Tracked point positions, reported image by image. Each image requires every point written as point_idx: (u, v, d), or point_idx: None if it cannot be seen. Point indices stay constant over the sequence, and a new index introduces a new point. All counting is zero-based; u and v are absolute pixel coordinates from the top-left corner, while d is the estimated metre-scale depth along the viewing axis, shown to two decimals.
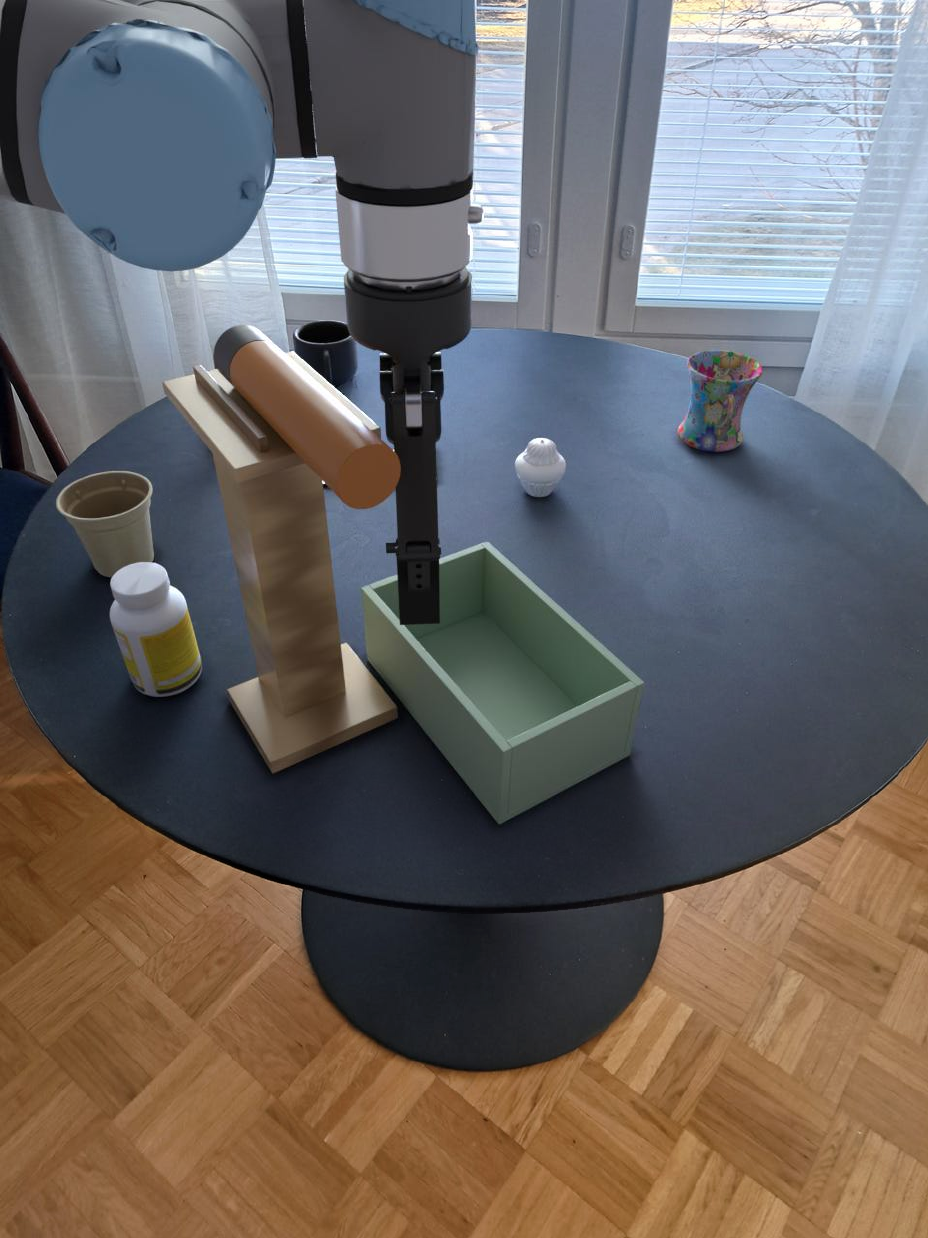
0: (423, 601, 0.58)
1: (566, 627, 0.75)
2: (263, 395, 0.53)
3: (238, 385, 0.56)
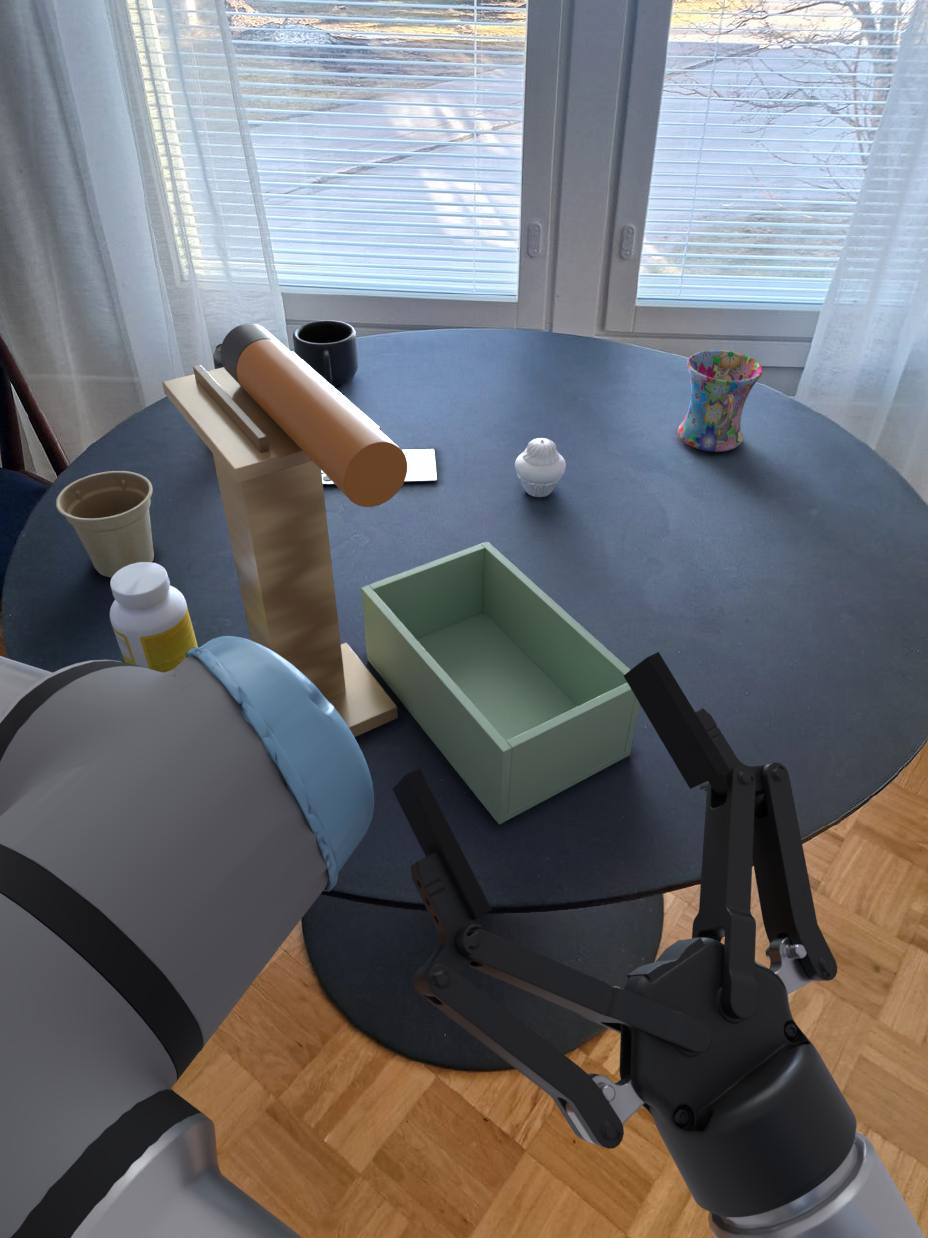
0: (417, 824, 0.38)
1: (566, 627, 0.75)
2: (273, 387, 0.53)
3: (244, 377, 0.56)
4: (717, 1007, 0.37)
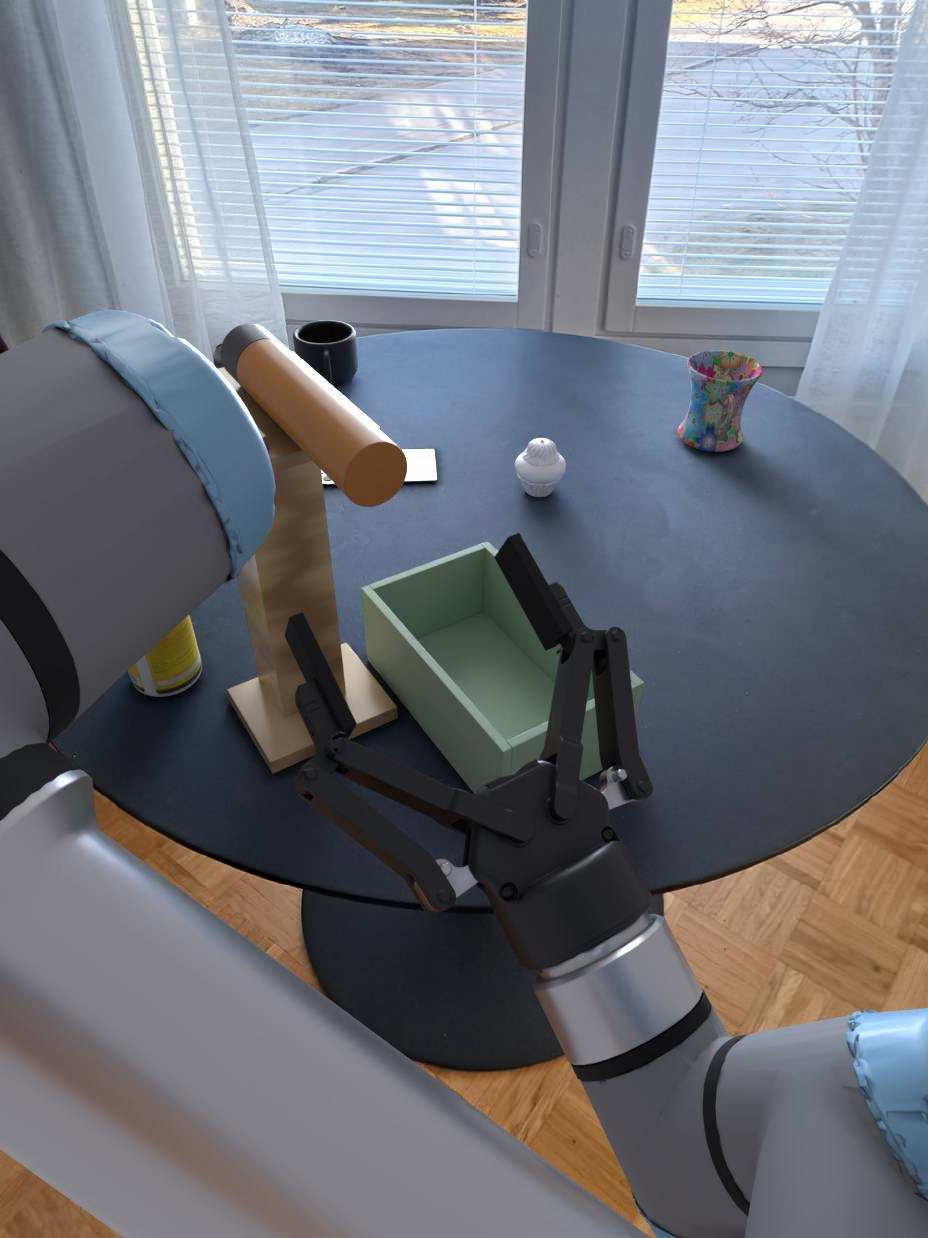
0: (301, 661, 0.45)
1: None
2: (273, 386, 0.53)
3: (245, 377, 0.56)
4: (545, 812, 0.45)
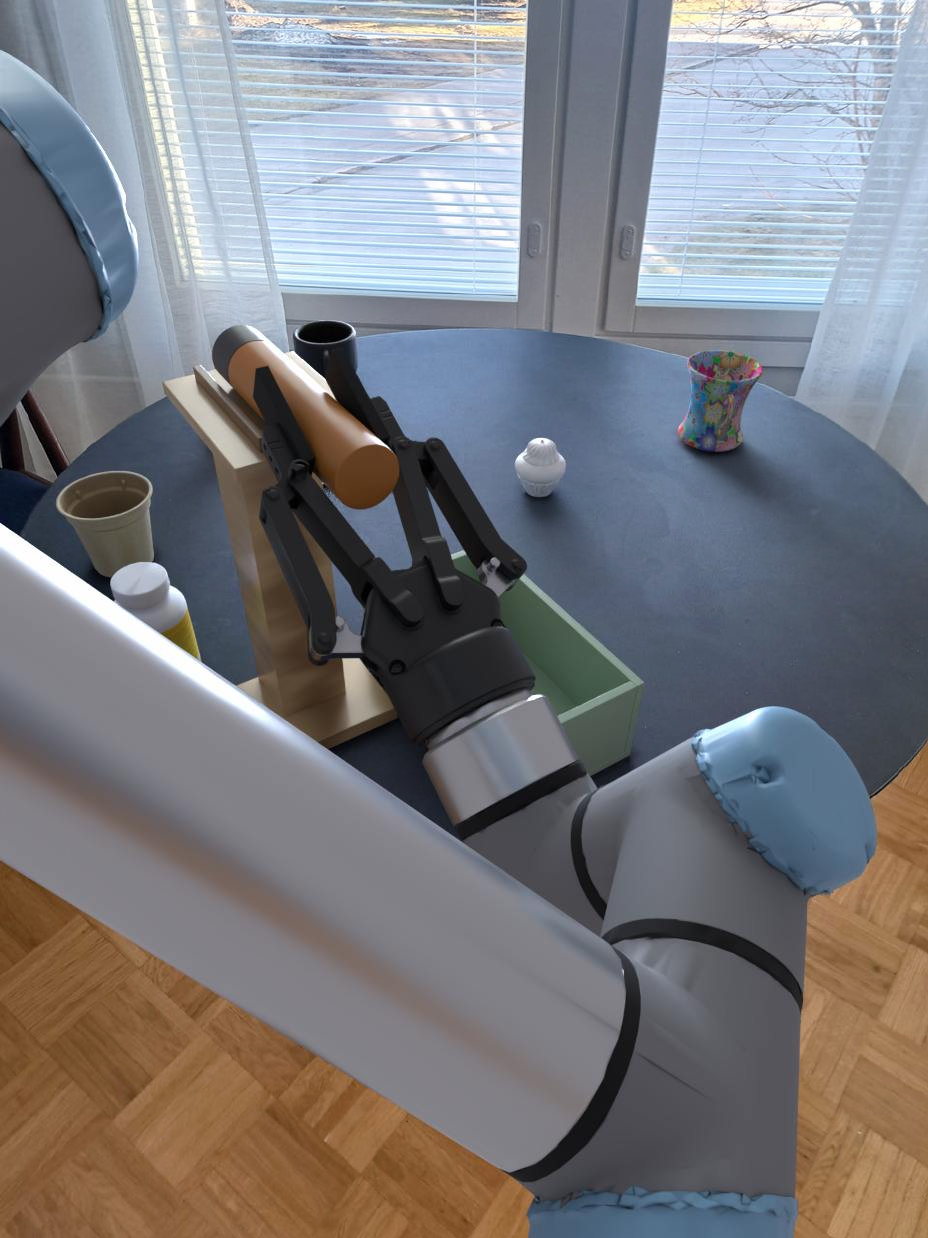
0: (267, 412, 0.50)
1: (566, 627, 0.75)
2: None
3: (236, 385, 0.56)
4: (436, 602, 0.47)
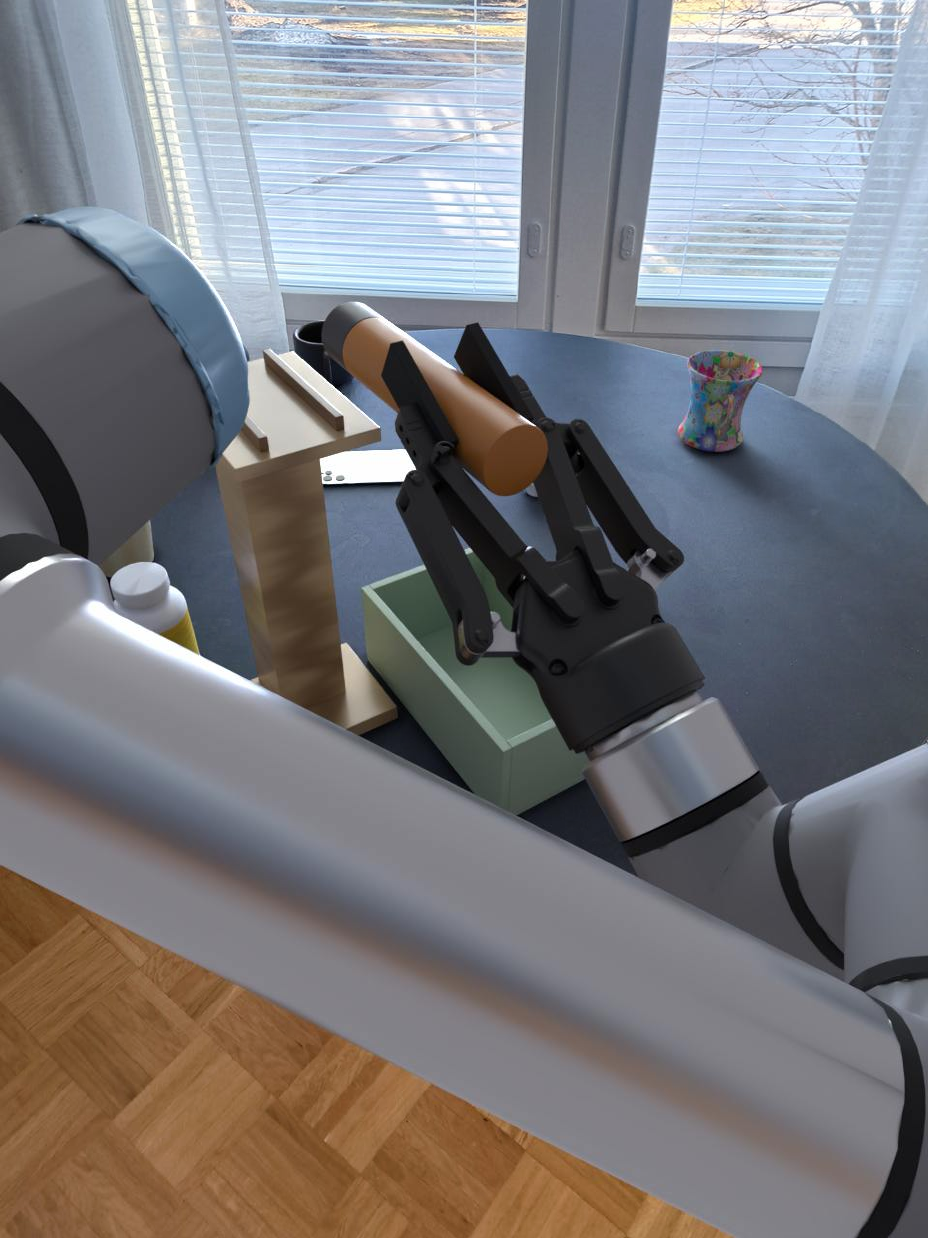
0: (400, 392, 0.47)
1: None
2: None
3: (353, 365, 0.53)
4: (593, 596, 0.43)
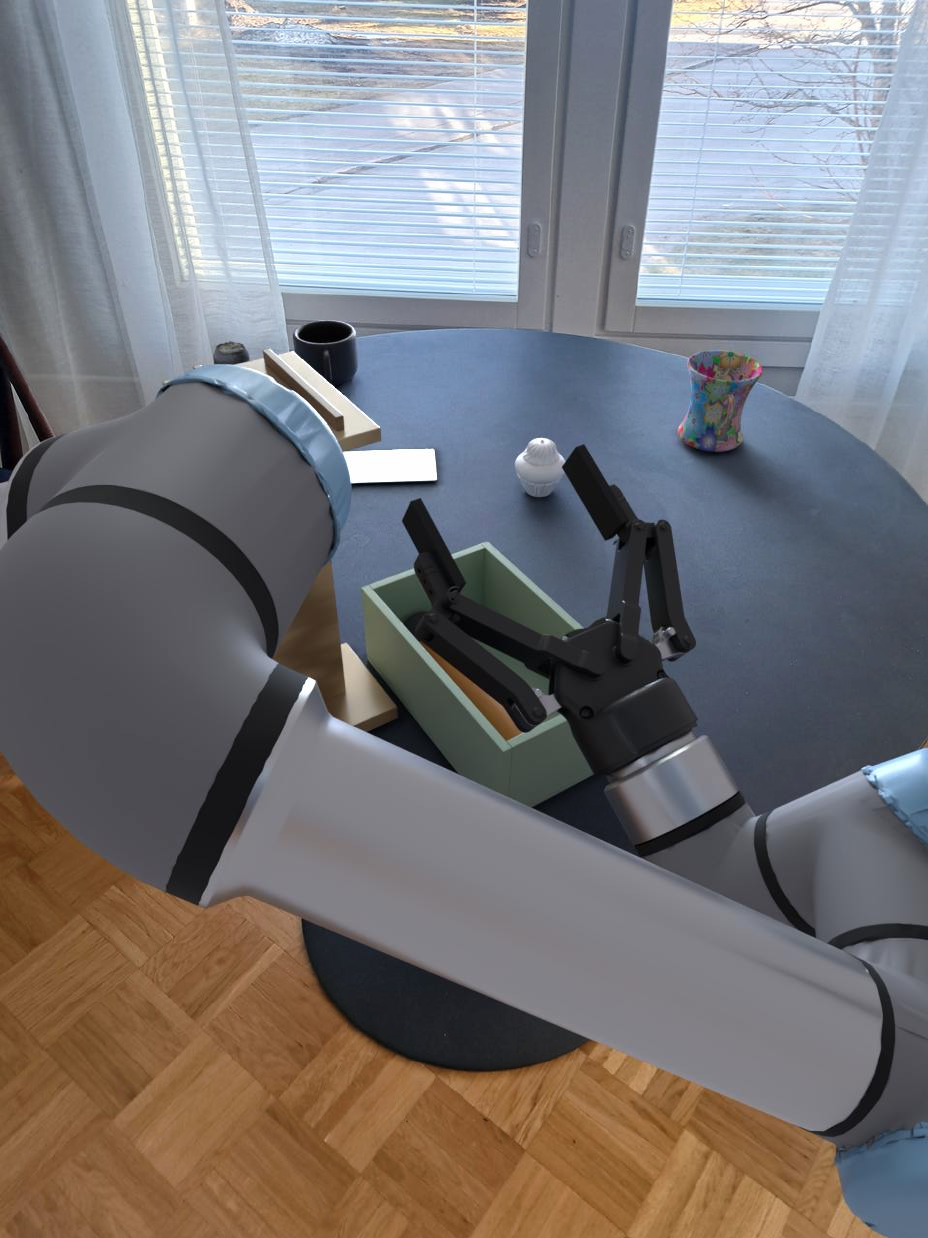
0: (418, 538, 0.57)
1: (566, 627, 0.75)
2: None
3: None
4: (612, 656, 0.56)
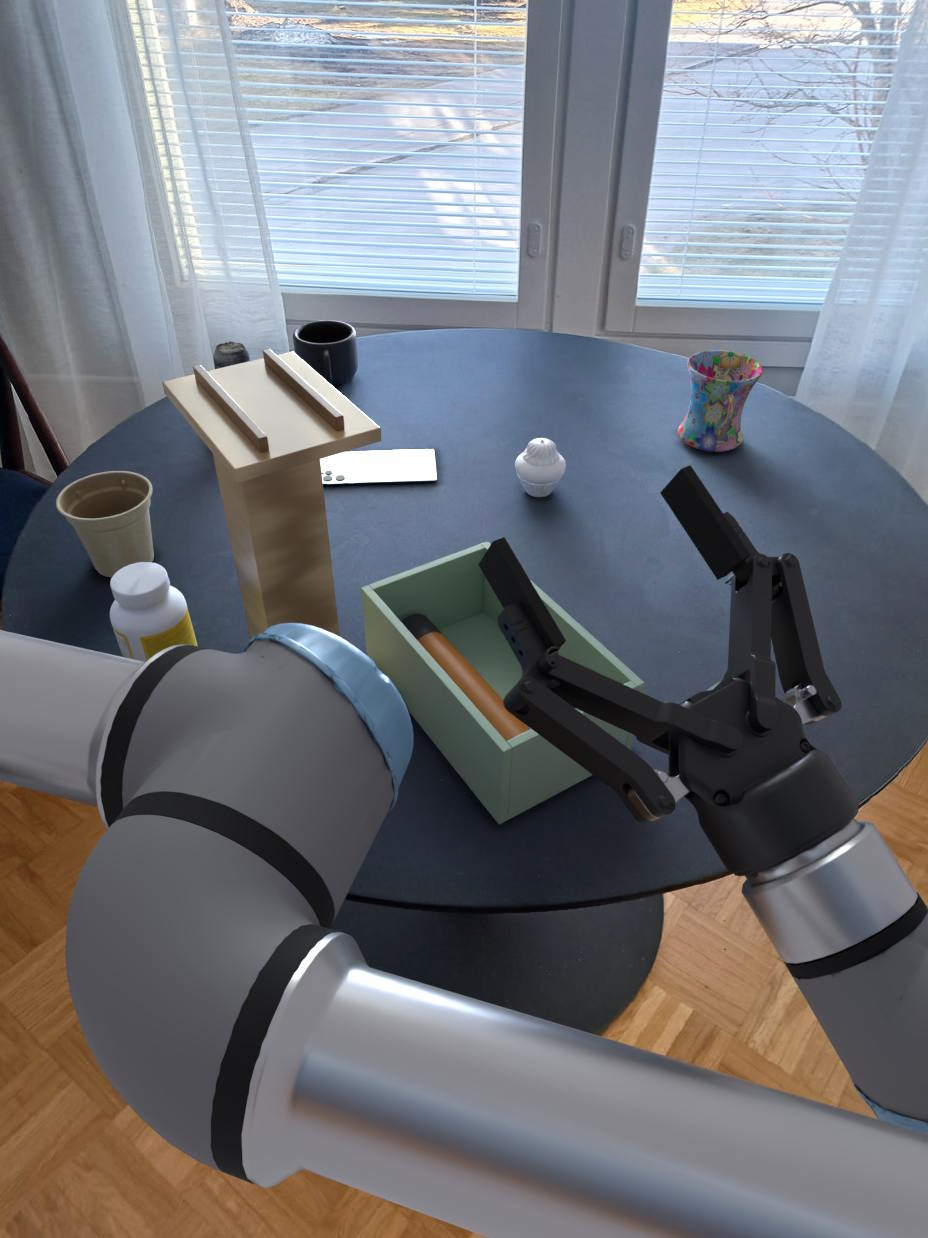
0: (501, 585, 0.47)
1: (566, 627, 0.75)
2: None
3: None
4: (746, 724, 0.46)
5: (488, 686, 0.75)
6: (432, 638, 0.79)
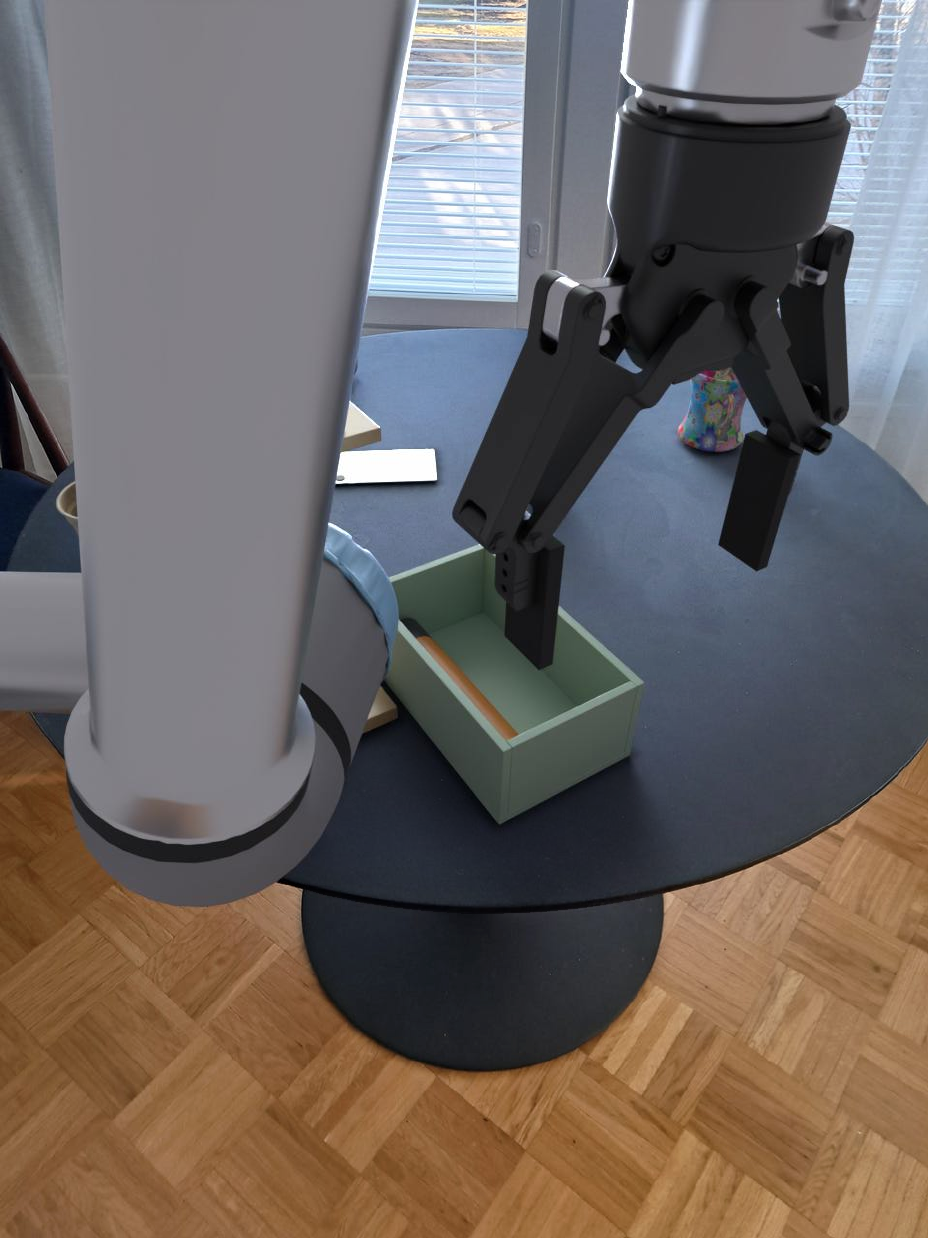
0: (527, 623, 0.38)
1: (566, 627, 0.75)
2: None
3: None
4: None
5: (467, 692, 0.74)
6: None
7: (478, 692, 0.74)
